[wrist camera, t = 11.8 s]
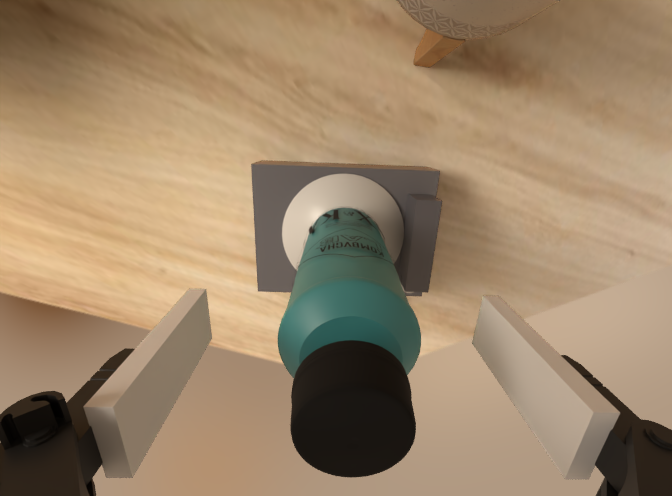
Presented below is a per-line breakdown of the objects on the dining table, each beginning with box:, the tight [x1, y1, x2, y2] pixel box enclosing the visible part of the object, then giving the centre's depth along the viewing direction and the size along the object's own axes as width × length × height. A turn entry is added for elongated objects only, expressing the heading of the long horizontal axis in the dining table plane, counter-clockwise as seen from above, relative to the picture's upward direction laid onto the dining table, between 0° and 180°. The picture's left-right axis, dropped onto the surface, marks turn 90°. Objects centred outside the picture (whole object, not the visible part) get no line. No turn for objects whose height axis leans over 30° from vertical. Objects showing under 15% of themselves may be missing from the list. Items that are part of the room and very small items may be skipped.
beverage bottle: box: [278, 206, 421, 477], centre depth 19 cm, size 6×7×20 cm
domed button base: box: [251, 161, 442, 296], centre depth 29 cm, size 16×12×7 cm
